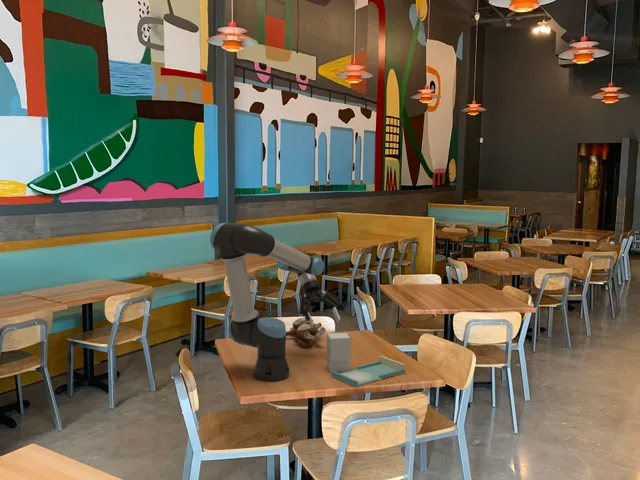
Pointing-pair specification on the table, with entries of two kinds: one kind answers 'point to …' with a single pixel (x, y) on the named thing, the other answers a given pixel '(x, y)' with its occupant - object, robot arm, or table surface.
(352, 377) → the teal flat tray
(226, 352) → the table surface
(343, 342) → the supplement box
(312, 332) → the toy
